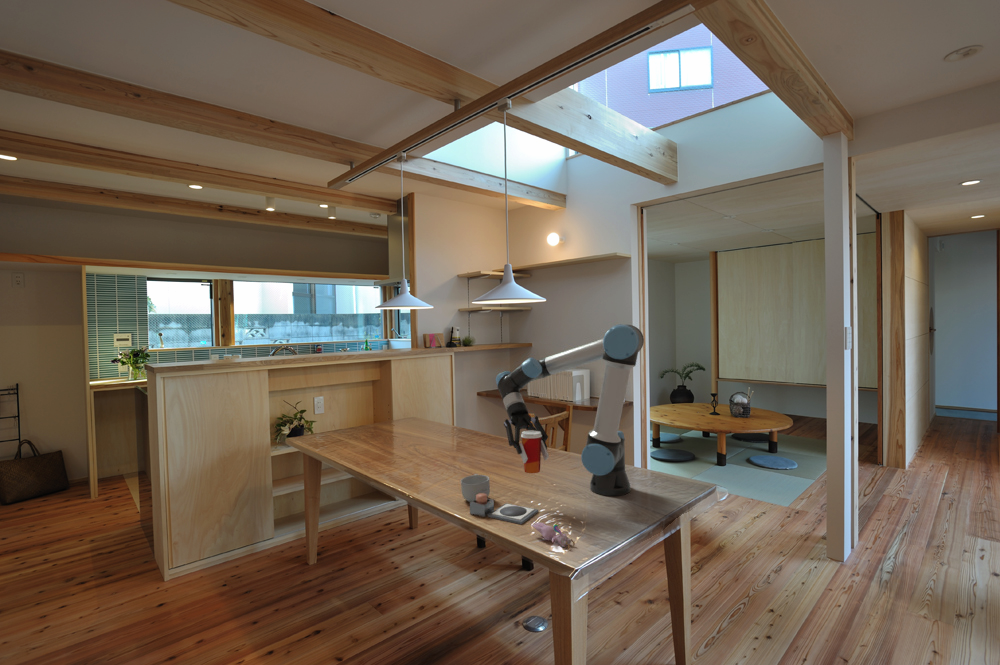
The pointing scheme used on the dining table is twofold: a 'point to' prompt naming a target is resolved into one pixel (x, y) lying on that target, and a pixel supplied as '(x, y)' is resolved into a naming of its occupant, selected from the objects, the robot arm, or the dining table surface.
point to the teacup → (475, 486)
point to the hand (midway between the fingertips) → (536, 459)
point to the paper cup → (532, 450)
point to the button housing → (482, 507)
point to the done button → (481, 498)
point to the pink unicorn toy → (553, 534)
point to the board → (513, 513)
